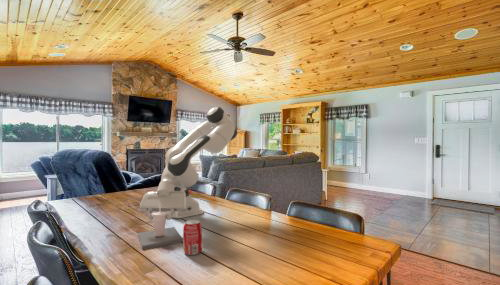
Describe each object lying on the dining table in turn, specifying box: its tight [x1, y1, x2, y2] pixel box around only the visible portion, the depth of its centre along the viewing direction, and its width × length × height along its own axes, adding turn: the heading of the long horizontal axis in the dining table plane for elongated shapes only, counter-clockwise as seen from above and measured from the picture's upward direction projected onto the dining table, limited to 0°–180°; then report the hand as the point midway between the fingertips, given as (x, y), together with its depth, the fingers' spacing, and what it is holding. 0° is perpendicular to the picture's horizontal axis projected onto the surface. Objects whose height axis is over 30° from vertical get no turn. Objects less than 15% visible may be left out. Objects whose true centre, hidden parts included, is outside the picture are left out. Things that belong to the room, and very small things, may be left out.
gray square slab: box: [137, 226, 183, 250], centre depth 113 cm, size 16×16×2 cm
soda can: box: [182, 218, 203, 256], centre depth 100 cm, size 7×7×12 cm
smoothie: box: [151, 202, 167, 236], centre depth 113 cm, size 6×6×14 cm
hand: (159, 219), depth 112 cm, fingers closed on smoothie, 6 cm apart
